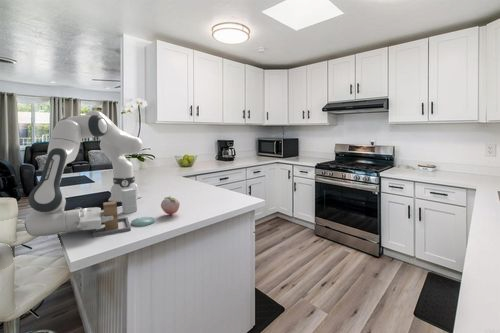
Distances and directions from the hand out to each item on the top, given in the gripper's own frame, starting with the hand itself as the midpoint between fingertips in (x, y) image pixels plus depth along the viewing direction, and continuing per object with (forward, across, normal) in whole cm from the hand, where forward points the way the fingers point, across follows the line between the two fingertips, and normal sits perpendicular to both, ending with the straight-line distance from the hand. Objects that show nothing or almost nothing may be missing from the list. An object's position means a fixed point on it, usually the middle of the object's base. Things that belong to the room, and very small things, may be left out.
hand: (113, 215), depth 116 cm
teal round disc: (+12, 0, +6) cm, 13 cm away
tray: (-1, 0, +6) cm, 6 cm away
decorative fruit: (+26, +5, +6) cm, 27 cm away
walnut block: (-1, 0, +6) cm, 6 cm away
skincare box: (+8, +21, +6) cm, 23 cm away
